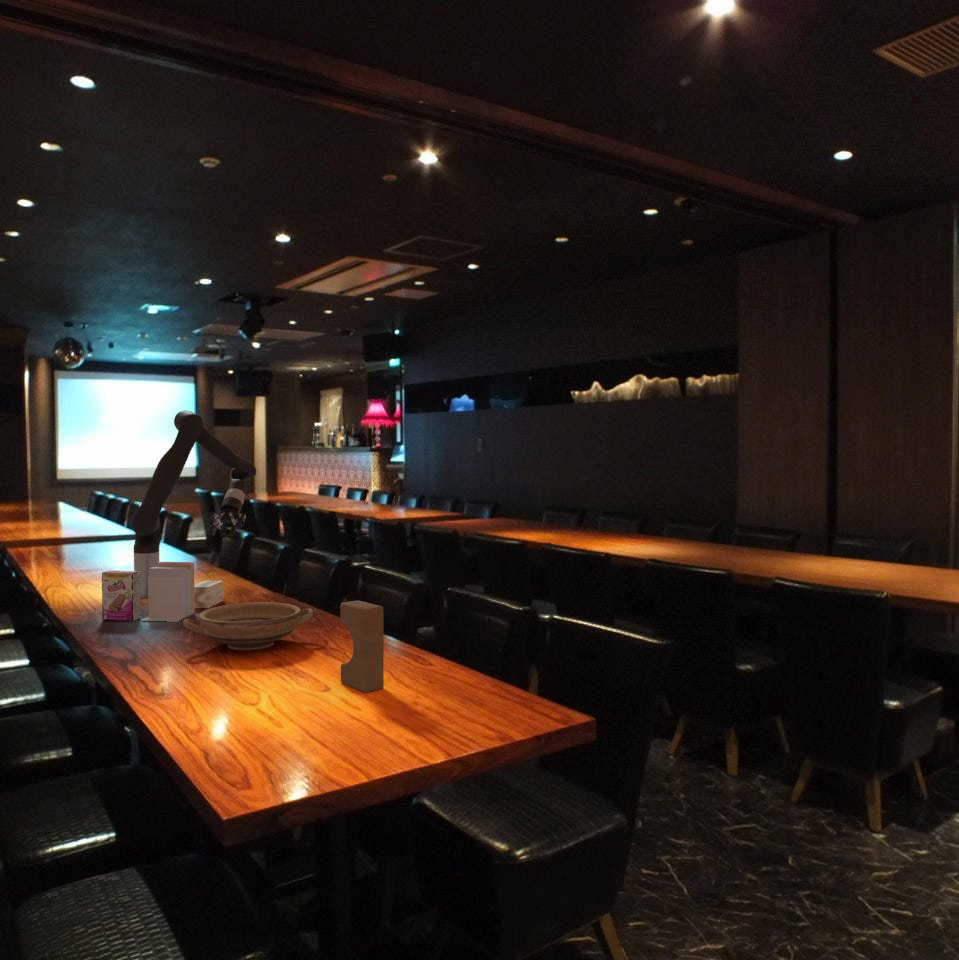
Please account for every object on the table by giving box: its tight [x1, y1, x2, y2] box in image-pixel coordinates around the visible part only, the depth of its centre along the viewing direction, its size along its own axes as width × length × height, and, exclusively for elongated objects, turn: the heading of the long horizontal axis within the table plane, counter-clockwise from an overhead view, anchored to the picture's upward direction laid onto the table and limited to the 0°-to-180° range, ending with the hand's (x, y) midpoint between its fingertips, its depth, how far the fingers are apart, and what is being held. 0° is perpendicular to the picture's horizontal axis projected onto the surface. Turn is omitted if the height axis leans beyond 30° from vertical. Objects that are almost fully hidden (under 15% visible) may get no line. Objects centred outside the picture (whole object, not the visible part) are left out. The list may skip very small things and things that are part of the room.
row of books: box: [141, 561, 196, 623], centre depth 268 cm, size 12×14×18 cm
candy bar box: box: [101, 569, 141, 622], centre depth 264 cm, size 11×5×16 cm, turn 84°
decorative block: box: [339, 600, 385, 694], centre depth 191 cm, size 11×6×20 cm, turn 42°
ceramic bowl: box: [182, 601, 314, 652], centre depth 231 cm, size 37×29×10 cm
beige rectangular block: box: [194, 580, 224, 609], centre depth 290 cm, size 7×14×8 cm, turn 177°
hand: (222, 534), depth 304 cm, fingers open, 7 cm apart
